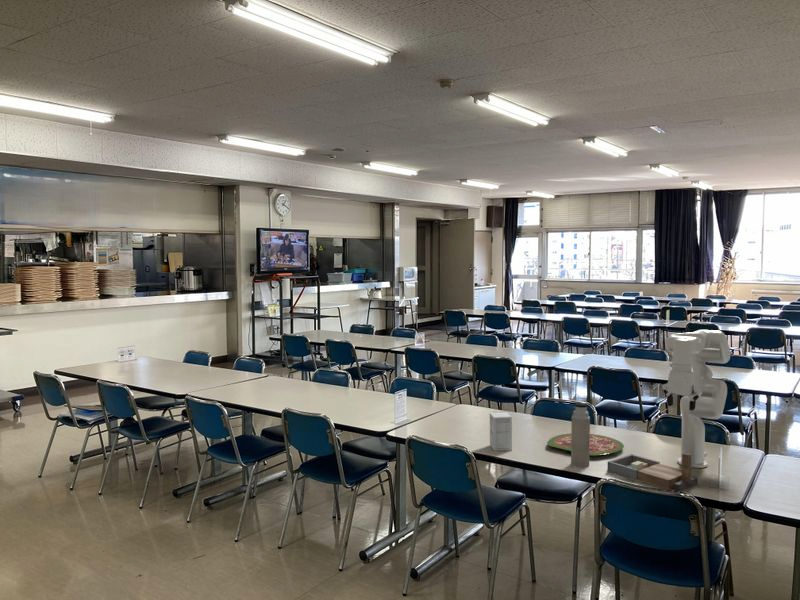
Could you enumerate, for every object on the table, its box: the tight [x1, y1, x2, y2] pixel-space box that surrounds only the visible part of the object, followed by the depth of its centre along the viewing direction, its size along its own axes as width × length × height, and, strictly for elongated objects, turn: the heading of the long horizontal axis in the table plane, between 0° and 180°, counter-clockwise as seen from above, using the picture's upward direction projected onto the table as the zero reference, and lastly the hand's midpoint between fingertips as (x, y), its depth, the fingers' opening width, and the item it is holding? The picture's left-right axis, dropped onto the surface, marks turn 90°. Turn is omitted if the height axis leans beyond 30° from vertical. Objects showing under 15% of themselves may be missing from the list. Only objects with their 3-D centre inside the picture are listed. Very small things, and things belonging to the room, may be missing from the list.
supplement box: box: [489, 412, 513, 451], centre depth 310 cm, size 10×9×17 cm
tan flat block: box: [636, 463, 682, 491], centre depth 264 cm, size 16×14×4 cm
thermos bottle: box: [570, 402, 591, 469], centre depth 284 cm, size 8×8×28 cm
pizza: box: [546, 433, 625, 457], centre depth 312 cm, size 35×35×2 cm
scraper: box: [673, 453, 699, 492], centre depth 256 cm, size 14×2×14 cm, turn 126°
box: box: [606, 453, 661, 481], centre depth 275 cm, size 18×14×4 cm
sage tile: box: [631, 461, 643, 471], centre depth 269 cm, size 5×5×2 cm
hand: (680, 407), depth 266 cm, fingers open, 9 cm apart
